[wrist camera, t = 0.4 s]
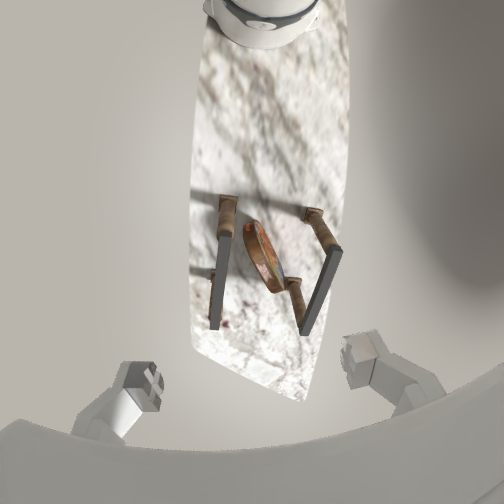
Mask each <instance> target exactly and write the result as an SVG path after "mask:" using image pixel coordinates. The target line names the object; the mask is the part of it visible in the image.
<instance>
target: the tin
mask: <svg viewBox="0 0 504 504" xmlns="http://www.w3.org/2000/svg"><path fill="white" fill-rule="evenodd" d="M243 239H244V243H245V246H246V249H247V251H248V254H249V256H250V258H251V260H252V262H253V263H254V265H255V267H256V269H257V271H258V272H259V274H260V276H261V278H262V279H263V281H264V283H265V284H266V286H267V288H268V289H269V291H270V292H271V293H278V292H281V291H286V289H287V286H286V280H285V276H284V273H283V269H282V266H281V264H280V262H279V259H278V257H277V255H276V253H275V251H274V249H273V247H272V245H271V243H270V241H269V239H268V237H267V235H266V233H265V231H264V229H263V227H262V226H261V224H260V223H259V221H257V220H254V221H253V222H250V223H248V224H246V225H244V227H243Z"/></svg>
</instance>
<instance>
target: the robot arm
mask: <svg viewBox="0 0 504 504" xmlns="http://www.w3.org/2000/svg"><path fill="white" fill-rule="evenodd" d="M203 10H204V12H205V13H206V14H208V15H209V16H211V17H212V18H214V19H215V20H216V22H217V23H218V25H219V27H220V28H221V30H222V31H223V33H224V34H225V35H226V36H227V37H228V38H230V39H231V40H232V41H234V42H236V43H238V44H240V45H242V46H245V47H248V48H253V49H274V48H278V47H281V46H284V45H286V44H288V43H290V42H292V41H293V40H294V39H296V38H297V37H298V36H299V35H301V34H302V33H306V32H310V31H313V30H315V29H317V28H318V26H319V10H318V0H206V1H205V3H204V5H203ZM341 344H342V346H343V349H342V350H341V353H340V357H341V364H342V367H343V370H344V371H345V372H347V380H348V384H349V386H350V389H351V390H352V389H356V388H360V387H364V386H368V385H369V386H370V387H371V388H372V389H374V390H375V391H377V392H378V393H379V394H380V395H382V396H383V397H384V398H386V399H387V400H388V401H390V402H391V403H393V404H394V405H395V406H396V409H395V411H394V413H393V415H392V417H391V418H390V419H387V420H384V421H381V422H378V423H375V424H372V425H369V426H366V427H362V428H359V429H356V430H352V431H348V432H345V433H341V434H337V435H333V436H328V437H324V438H319V439H314V440H309V441H304V442H298V443H293V444H286V445H279V446H271V447H263V448H254V449H241V450H222V451H180V450H162V449H151V448H141V447H132V446H129V445H128V444H127V443H126V442H125V441H124V440H123V439H122V437H123V435H125V433H126V432H127V431H128V430H129V429H130V427H131V426H132V425H133V424H134V423H135V421H136V420H137V419H138V418H139V416H140V415H141V414H142V413H143V412H159V410H160V405H161V399H160V397H159V396H160V395H161V394H162V393H163V390H164V381H163V377H162V375H161V373H159V372H158V371H156V368H157V366H156V365H155V364H154V362H144V361H143V362H142V361H141V362H140V361H137V362H136V361H133V362H130V361H124V362H122V363H121V365H120V368H119V370H118V373H117V375H116V378H115V381H114V383H113V386H112V388H108V389H107V390H106V391H105V392H104V393H102V394H101V395H100V396H99V397H98V398H97V399H95V400H94V401H93V402H92V403H91V404H89V405H88V406H87V407H86V408H85V409H84V410H82V411H81V412H80V413H79V414H78V415H77V418H76V420H75V423H74V426H73V429H72V431H71V434H67V433H63V432H60V431H56V430H53V429H50V428H46V427H43V426H40V425H37V424H34V423H32V422H29V421H26V420H23V419H18V420H16V421H14V422H12V423H11V424H9V425H8V426H6V427H5V428H4V429H2V430H1V431H0V504H504V362H503V363H501V364H499V365H497V366H496V367H494V368H493V369H491V370H490V371H488V372H486V373H485V374H483V375H482V376H480V377H478V378H476V379H475V380H473V381H471V382H470V383H468V384H466V385H464V386H462V387H461V388H458V389H457V390H455V391H453V392H451V393H449V394H447V393H446V392H445V390H444V388H443V387H442V385H441V383H440V382H439V380H438V378H437V377H436V375H435V374H434V373H432V372H430V371H428V370H426V369H424V368H422V367H420V366H418V365H416V364H414V363H412V362H410V361H408V360H406V359H404V358H402V357H400V356H398V355H397V354H395V353H393V354H391V353H390V351H389V350H388V349H387V346H386V345H385V343H384V341H383V340H382V338H381V336H380V334H379V333H378V331H377V330H376V329H372V330H369V331H365V332H361V333H357V334H353V335H349V336H344V337H343V338H342V342H341Z"/></svg>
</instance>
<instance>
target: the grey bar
mask: <svg viewBox="0 0 504 504" xmlns="http://www.w3.org/2000/svg"><path fill="white" fill-rule="evenodd" d="M231 240H232V232H228V231H220V238H219V246H218V254H217V263H216V271H215V280H214V290H213V299H212V309H211V319H210V330H219V326H220V318H221V311H222V303H223V296H224V289H225V282H226V275H227V268H228V261H229V254H230V247H231Z"/></svg>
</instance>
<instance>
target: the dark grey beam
mask: <svg viewBox="0 0 504 504" xmlns="http://www.w3.org/2000/svg"><path fill="white" fill-rule="evenodd" d="M342 254H343V250H342V249H341V247H340V246H335V245H330V247H329V250H328V253H327V256H326V259H325V262H324V265H323V267H322V270H321V273H320V276H319V278H318V281H317V284H316V286H315V289H314V292H313V294H312V297H311V300H310V302H309V305H308V307H307V310H306V312H305V315H304V317H303V320H302V322H301V325H300V327H299V334H300V336H309V334H310V331H311V329H312V327H313V325H314V323H315V320H316V318H317V316H318V313H319V311H320V309H321V307H322V304H323V302H324V299H325V297H326V295H327V292H328V290H329V287H330V285H331V282H332V280H333V277H334V275H335V272H336V270H337V267H338V265H339V262H340V259H341V257H342Z"/></svg>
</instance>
